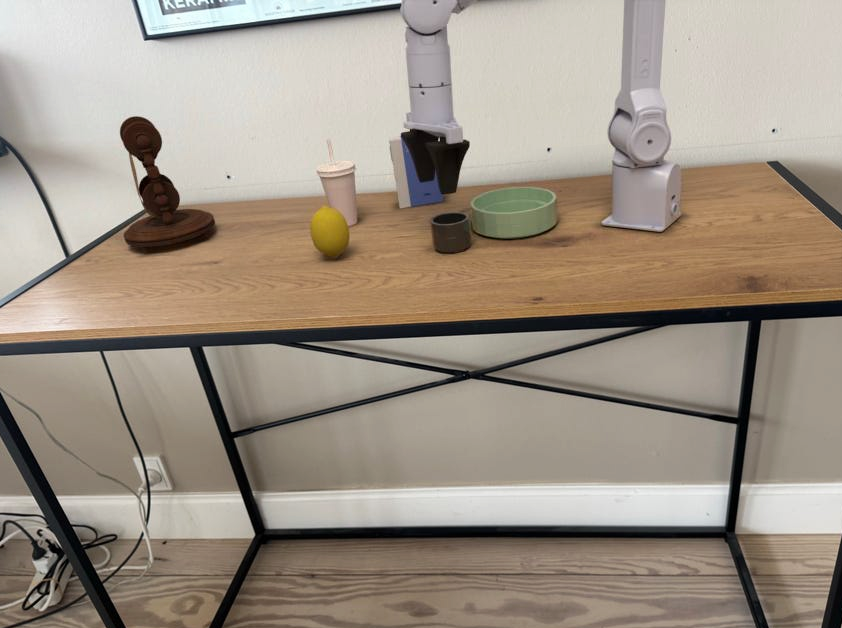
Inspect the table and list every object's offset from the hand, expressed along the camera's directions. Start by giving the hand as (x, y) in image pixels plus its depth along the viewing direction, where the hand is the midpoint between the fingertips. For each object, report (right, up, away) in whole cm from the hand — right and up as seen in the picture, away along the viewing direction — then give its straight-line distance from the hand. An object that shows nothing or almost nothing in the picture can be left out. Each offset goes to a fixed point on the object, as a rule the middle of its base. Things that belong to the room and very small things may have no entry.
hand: (437, 187), depth 98 cm
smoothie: (-16, -1, +20) cm, 25 cm away
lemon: (-15, -10, +5) cm, 19 cm away
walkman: (-4, +3, +25) cm, 26 cm away
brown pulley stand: (-46, -4, +21) cm, 51 cm away
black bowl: (+2, -8, +4) cm, 9 cm away
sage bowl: (+12, -4, +9) cm, 16 cm away
